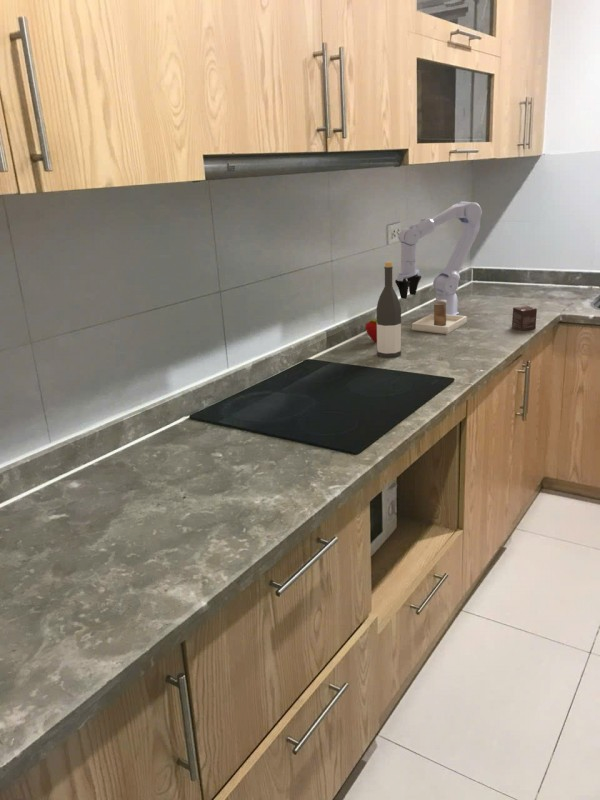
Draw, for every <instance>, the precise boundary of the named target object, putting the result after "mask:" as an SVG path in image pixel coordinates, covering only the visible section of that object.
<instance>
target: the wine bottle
mask: <svg viewBox="0 0 600 800" xmlns="http://www.w3.org/2000/svg"><path fill="white" fill-rule="evenodd" d="M384 264H385V265H384V267H383V268H384V287H383V289H382V291H381V293H380V295H379V297H378V301H377V304H376V320H377V343H376V352H377V357H379V358H384V359H394V358H397V357H400V356H401V355H402V307H401V302H400V300H399V298H398V295H397V294H396V291H395V290H394V287H393V268H394V267H393V266H392V265H393V262H392V261H385V263H384Z"/></svg>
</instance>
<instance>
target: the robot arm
mask: <svg viewBox="0 0 600 800" xmlns="http://www.w3.org/2000/svg"><path fill="white" fill-rule="evenodd" d="M482 215H483V210H482V207H481V206H480V204H479V203H478V202H476V201H475V202H474V201H472V202H470V201H464V200H462V201H460V202H457V203H454V204H453V205H451V206H450V207H448V208H447V209H445V210H443V211H442V212H440V213H438V214H437V215H435V216H433V217H432V218H429V217H422V218H421V219H420V221H418V222H416V223H415V224H413V223H412V224H410V225H409V228H408V227H404V228H402V230H400V232H399V234H398V236H397V239H398V241H399V242H400V271H398V273H397V274H398V275H397V279H395V280H394V281H395V285H396V287H397V288H398V292H399V296H400V298H401V299H407V297H408V294H409V295H410V296H411V295H412V296H415V295H416V294H417V290H418V287H419V283H420V281H421V279H422V275H420V269H417V243H419V240H421V239H422V238H425V237H427V236H428V235H430V234H432V233H434V231H435V229H436V227H438V226H440V225H442V224H444V223H446V222H449V221H450V220H453V219H455V218H456V219H458V220H459V221H460V222H461V225H462V228H463V231H462V233H461V234H460V237H459V239H458V241H457V243H456V246H455V247H454V250H453V252H452V253H451V255H450V258H449V259H448V261H447V264H446V266H445V267H444V268H443V269H441V270H440V272H439V274H438V275H436V276H435V277H434V279H433V283H432V284H433V288H434V289H435V300H446V301H447V304H446V314H448V315H459V314H460V312H459V311H458V295H457V293H456V292H457V290H458V289H459V288H458V287H459V282H460V280H461V276H460V271H461V270H462V269H461V268H462V266H463V265H464V263H465V261H466V258H467V257H468V254H469V253H470V251H471V249H472V246H473V244H474V242H475V240H476V238H477V236H478V234H479V232H480V229H481V217H482ZM408 292H409V293H408Z"/></svg>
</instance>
